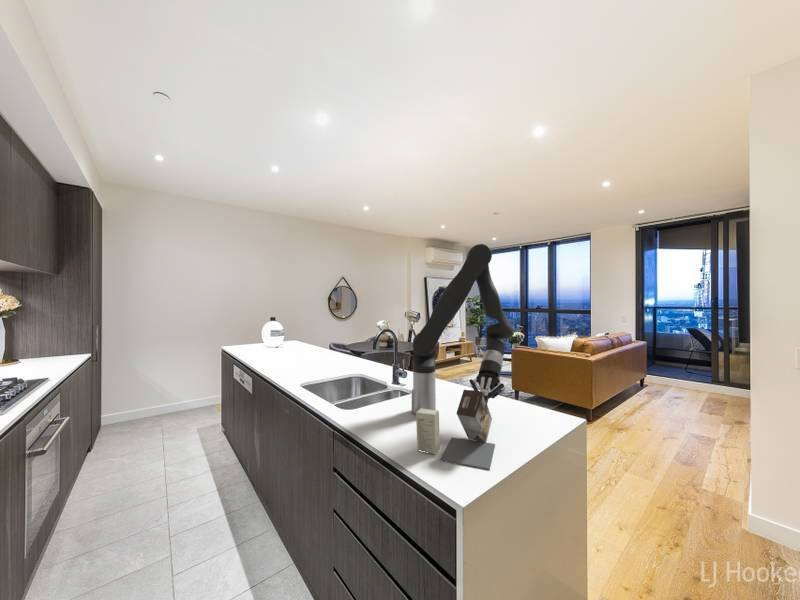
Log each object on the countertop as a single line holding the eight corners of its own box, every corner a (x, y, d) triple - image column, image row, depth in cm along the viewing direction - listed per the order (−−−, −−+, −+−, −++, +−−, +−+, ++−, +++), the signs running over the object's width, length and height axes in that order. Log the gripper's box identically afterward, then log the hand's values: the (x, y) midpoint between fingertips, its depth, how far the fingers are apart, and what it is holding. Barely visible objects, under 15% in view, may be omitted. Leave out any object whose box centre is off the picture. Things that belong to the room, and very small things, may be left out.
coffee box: (474, 415, 112) (463, 387, 103) (492, 418, 109) (483, 390, 100) (467, 439, 106) (455, 413, 97) (486, 444, 103) (476, 417, 94)
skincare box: (440, 449, 99) (440, 410, 99) (435, 455, 95) (435, 414, 95) (421, 445, 102) (420, 407, 102) (415, 451, 98) (415, 411, 98)
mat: (439, 460, 92) (439, 459, 92) (451, 438, 107) (451, 437, 107) (489, 470, 87) (489, 468, 87) (495, 445, 102) (495, 443, 102)
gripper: (471, 357, 120) (460, 398, 110) (507, 360, 113) (499, 404, 103) (476, 368, 125) (465, 409, 114) (511, 372, 118) (503, 415, 107)
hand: (481, 406), depth 109 cm, fingers closed
